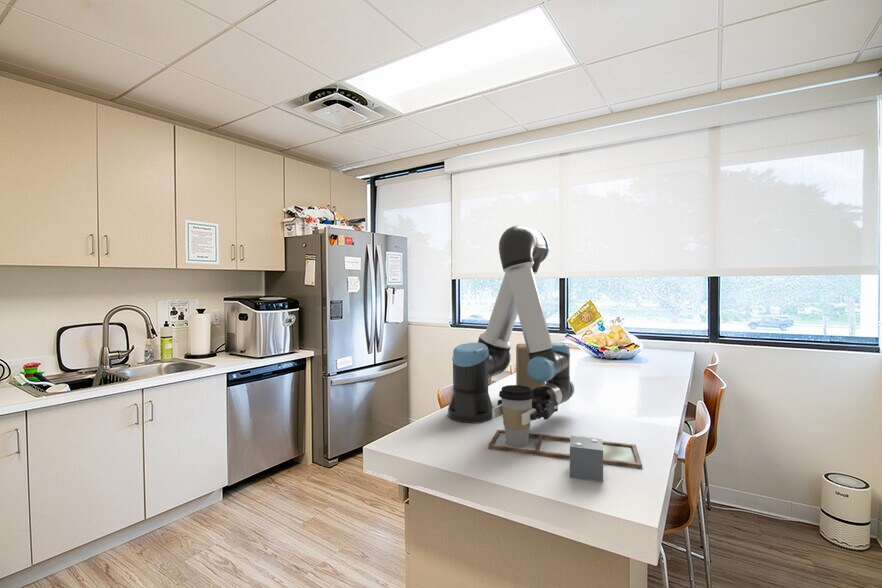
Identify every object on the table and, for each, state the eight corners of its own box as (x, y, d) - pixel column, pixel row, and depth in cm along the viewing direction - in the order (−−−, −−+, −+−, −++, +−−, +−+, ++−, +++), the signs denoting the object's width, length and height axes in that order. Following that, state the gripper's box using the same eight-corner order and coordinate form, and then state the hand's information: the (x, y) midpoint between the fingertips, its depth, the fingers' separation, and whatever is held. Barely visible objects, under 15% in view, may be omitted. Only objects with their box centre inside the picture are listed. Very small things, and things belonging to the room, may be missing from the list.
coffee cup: (540, 442, 114) (540, 388, 114) (522, 452, 107) (521, 395, 107) (511, 434, 120) (511, 382, 120) (492, 443, 113) (491, 388, 113)
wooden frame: (488, 448, 110) (488, 445, 110) (497, 432, 122) (497, 429, 122) (642, 468, 98) (642, 464, 98) (635, 447, 110) (635, 444, 110)
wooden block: (541, 393, 164) (541, 343, 164) (545, 400, 154) (545, 347, 154) (516, 393, 165) (515, 343, 165) (518, 400, 155) (518, 347, 155)
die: (569, 477, 93) (569, 445, 93) (570, 464, 100) (570, 435, 100) (603, 481, 91) (603, 449, 91) (601, 468, 98) (601, 438, 98)
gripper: (578, 416, 121) (544, 439, 103) (514, 403, 134) (475, 422, 116) (578, 390, 121) (544, 409, 103) (514, 380, 134) (474, 395, 116)
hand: (507, 416), depth 110 cm, fingers closed on coffee cup, 8 cm apart
